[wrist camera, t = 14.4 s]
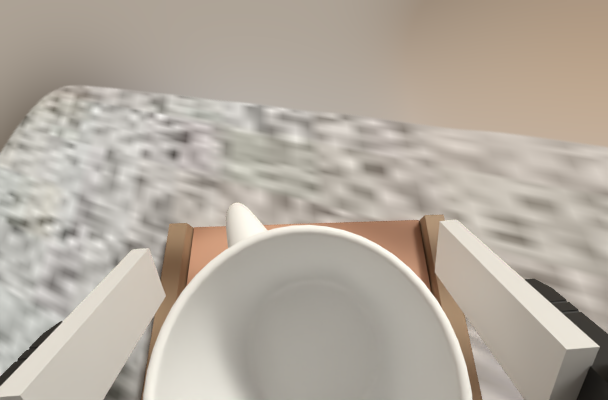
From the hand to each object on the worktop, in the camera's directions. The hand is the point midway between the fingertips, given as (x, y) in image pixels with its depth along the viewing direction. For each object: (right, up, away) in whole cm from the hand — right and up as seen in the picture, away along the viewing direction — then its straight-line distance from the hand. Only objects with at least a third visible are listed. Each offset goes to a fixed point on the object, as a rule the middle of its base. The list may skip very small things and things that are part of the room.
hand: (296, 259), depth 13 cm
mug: (0, -5, +5) cm, 7 cm away
